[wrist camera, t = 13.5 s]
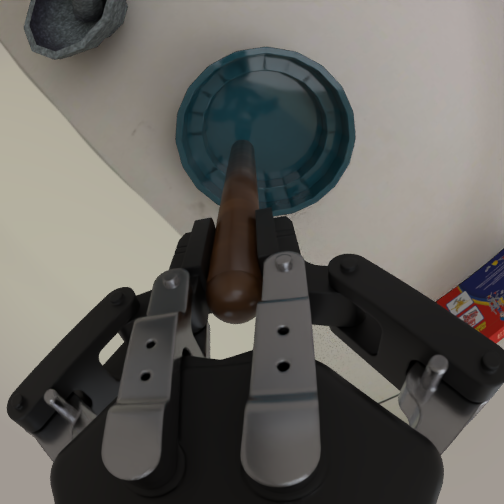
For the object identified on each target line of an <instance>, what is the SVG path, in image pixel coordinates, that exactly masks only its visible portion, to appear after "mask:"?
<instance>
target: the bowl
mask: <svg viewBox="0 0 504 504" xmlns="http://www.w3.org/2000/svg"><path fill="white" fill-rule="evenodd" d="M175 140H176V145H177V149H178V152H179V156H180V160H181V163H182V166H183V168H184V170H185V171H186V173H187V174H188V176H189V177H190V179H191V180H192V182H193V183H194V185H195V186H196V188H197V189H199V190H200V191H201V192H202V193H204V194H205V195H206V196H207V197H209V198H210V199H211V200H212V201H214V202H215V203H216V204H218V205H220V203H221V198H222V192H223V187H224V182H225V177H226V172H227V167H228V162H229V157H230V152H231V147H232V145H233V144H234V143H235V142H236V141H238V140H247V141H249V142H250V143H251V144H252V145H253V147H254V154H255V165H256V177H257V188H258V200H259V209H263V208H269V207H272V213H273V216H279V215H285V214H291V213H295V212H297V211H299V210H301V209H303V208H305V207H308V206H310V205H312V204H314V203H316V202H317V201H319V200H320V199H321V198H322V197H323V196H324V195H326V194H327V193H328V192H329V191H330V190H331V189H332V188H334V187H335V185H336V184H337V183H338V181H339V180H340V178H341V176H342V175H343V173H344V172H345V170H346V168H347V167H348V165H349V163H350V159H351V155H352V151H353V147H354V143H355V125H354V114H353V110H352V108H351V105H350V103H349V101H348V99H347V96H346V94H345V92H344V90H343V88H342V86H341V85H340V84H339V83H338V82H337V81H336V79H335V78H334V77H333V76H332V75H331V74H330V73H329V72H328V71H327V70H326V69H325V68H324V67H323V66H322V65H320V64H318V63H317V62H315V61H313V60H311V59H309V58H307V57H305V56H304V55H302V54H300V53H298V52H295V51H290V50H284V49H278V48H272V47H260V48H253V49H247V50H241V51H236V52H234V53H232V54H230V55H228V56H226V57H224V58H222V59H220V60H218V61H216V62H215V63H213V64H211V65H209V66H208V67H207V68H206V69H205V70H204V71H203V72H202V73H201V74H200V75H199V76H198V78H197V79H196V80H195V81H194V82H193V83H192V84H191V85H190V86H189V88H188V89H187V92H186V94H185V96H184V99H183V101H182V103H181V106H180V108H179V110H178V113H177V123H176V138H175Z"/></svg>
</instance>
